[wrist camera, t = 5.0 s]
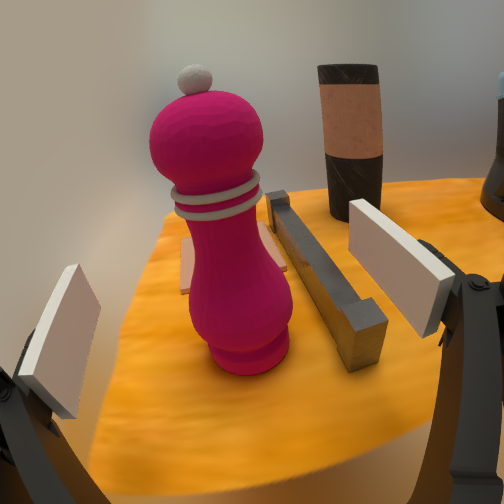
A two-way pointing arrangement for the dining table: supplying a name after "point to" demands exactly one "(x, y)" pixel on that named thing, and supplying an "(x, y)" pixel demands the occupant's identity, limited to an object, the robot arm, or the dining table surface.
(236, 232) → the pepper mill
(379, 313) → the handrail
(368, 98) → the travel mug
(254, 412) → the dining table surface
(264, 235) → the end tile
